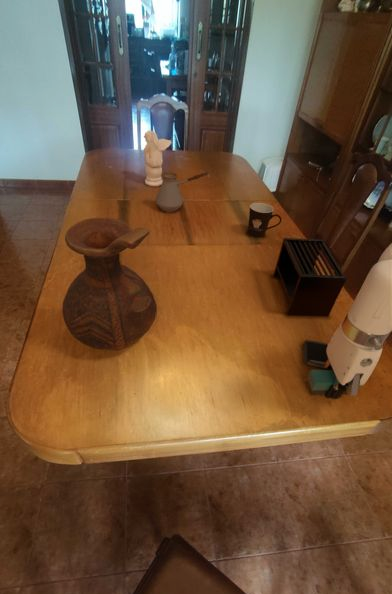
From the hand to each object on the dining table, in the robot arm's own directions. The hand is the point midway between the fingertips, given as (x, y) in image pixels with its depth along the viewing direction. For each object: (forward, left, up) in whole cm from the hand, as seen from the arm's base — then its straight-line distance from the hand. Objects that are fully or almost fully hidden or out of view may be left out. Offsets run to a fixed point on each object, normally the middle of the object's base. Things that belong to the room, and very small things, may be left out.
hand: (329, 388), depth 70 cm
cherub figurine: (+44, -121, -2) cm, 128 cm away
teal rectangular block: (0, 0, 0) cm, 0 cm away
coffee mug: (+3, -74, -2) cm, 74 cm away
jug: (+50, -19, -2) cm, 53 cm away
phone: (-5, -10, -2) cm, 12 cm away
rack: (-3, -37, -2) cm, 37 cm away
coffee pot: (+33, -94, -2) cm, 99 cm away
